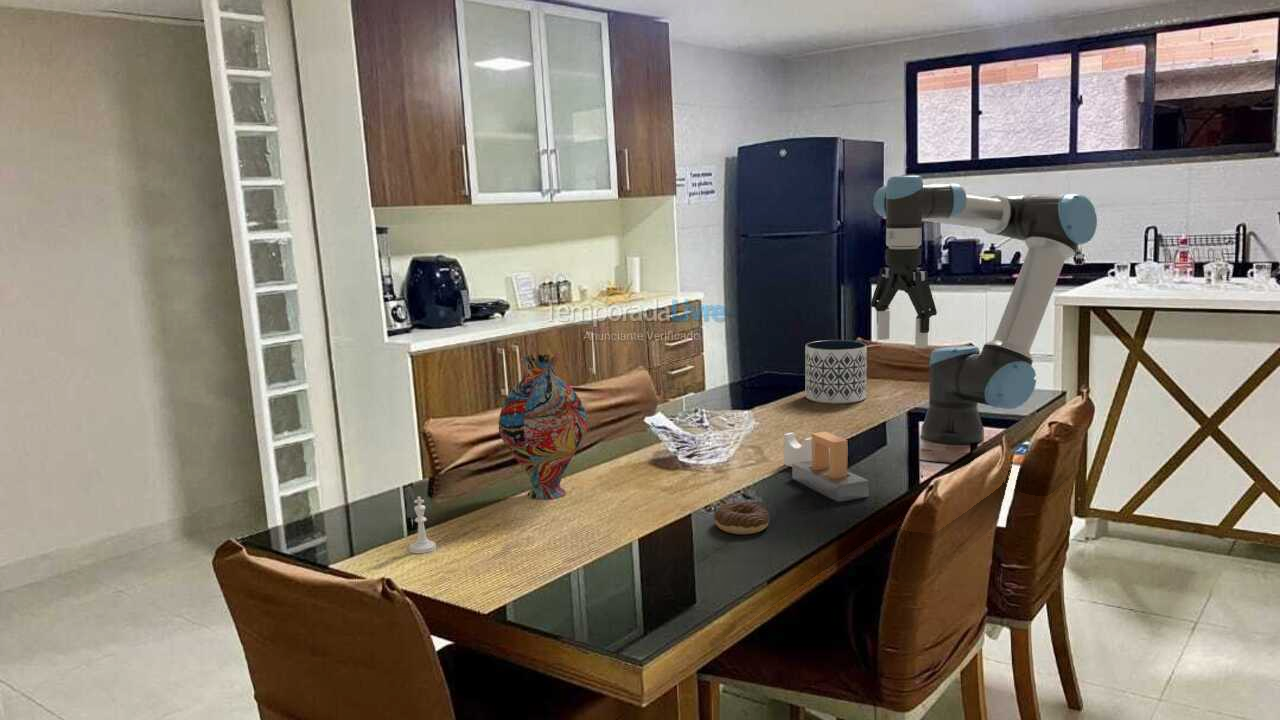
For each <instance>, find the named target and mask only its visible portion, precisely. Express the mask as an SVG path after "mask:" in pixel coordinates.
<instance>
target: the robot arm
mask: <svg viewBox="0 0 1280 720" xmlns="http://www.w3.org/2000/svg"><path fill="white" fill-rule="evenodd" d="M886 182H887V184H886V185H884V186H881V187H880V188H878V189H877V190H876V192H875V194H874V195H873V196H874V197H873V208H874V210H875V212H876V213H877V215H879V216H880V217H883V218H885V219H886V220H885V222H886V223H885V228H886V231H885V232H886V233H885V245H886V246H887V247H888V248H887V249H886V250H885V265H886V266H888V267H880V268H879V275H878V279H877V283H876V286H875V289H874V293H873V295H872V298H871V300H870V306H871V308H874V309H875V311H876V324H877V338H876V339H877V341H878V340H879V341H882V340H883V341H884V340H890V325H891V324H890V317H891V316H890V315H891V314H890V312H891V311H890V304H891V303H892V301H893V299H894V298H895V296H896V294H897V293H898V291H901V292H903V291H904V293H906V294H907V295H908V297H909V299H910V302H911V304H912V306H913V308H914V310H915V313H916V314H917V316H915V331H914V332H915V335H914V336H915V337H914V338H915V340H914V341H915V342H914V343H915V344H914V346H915V347H914V349H923V348H928V346H929V345H928V344H929V332H930V318H932V317H933V316H937V314H938V311H937V308H936V305H935V301H934V300H935V299H934V298H933V294H932V290H931V286H930V283H929V273H928V271H927V270H922V271H918V266H920V265H921V264H922V249H921V248H920V246H921V245H922V243H923V241H922V240H923V239H922V238H923V237H922V235H923V234H922V233H923V231H922V230H923V229H922V224H923V222H928V223H929V222H930V223H938V224H947V225H953V226H959V227H968V228H975V229H983V231H984V232H986V233H987V234H991V235H995V236H1000V237H1001V236H1002V237H1006V238H1009V239H1014V240H1019V241H1024V243H1025V245H1026V247H1027V248H1028V251H1027V253H1026V255H1025V257H1024V259H1023V263H1022V266H1021V269H1020V271H1019V274H1018V276H1017V278H1016V281H1015V284H1014V286H1013V288H1012V292H1011V294H1010V296H1009V298H1008V300H1007V301H1008V302H1007V304H1006V306H1005V309H1004V311H1003V313H1002V316H1001V319H1000V322H999V324H998V327H997V329H996V332H995V334H994V337H993V339H991V341H987V342H986V343H984V344H983V347H982V350H981V351H980V349H979V347H978V346H975V345H963V346H962V345H961V346H960V345H959V346H947V347H940V348H935V349H933V350H932V351H931V353H930V358H929V359H930V360H929V364H928V365H929V366H928V367H929V368H928V370H929V372H928V374H929V375H928V376H929V382H928V383H929V384H928V388H929V389H928V390H929V392H928V396H929V399H928V408H927V411H926V414H925V417H924V420H923V423H922V425H921V431H920V433H921V435H920V436H921V438H924V439H925V440H927V441H931V442H935V443H941V444H942V443H943V444H950V445H965V444H974V443H978V442H981V441H983V440H984V439H985V429H984V426H983V423H982V422H983V421H982V419H981V415H980V413H979V408H978V404H981V405H985V406H990V407H991V408H994V409H1003V410H1004V409H1005V410H1013V409H1016V408H1018V407H1021V406H1023V405H1024V404H1025V403H1026V402H1027V401H1028V400H1029V399H1030V398H1031V396H1032V395H1033V393H1034V390H1035V388H1036V384H1037V379H1036V378H1035V377H1037V376H1036V375H1037V373H1036V371H1035V369H1034V366H1032V365H1033V363H1034V362H1033V361H1034V359H1033V357H1032V355H1031V353H1030V352H1031V349H1032V347H1033V343H1034V341H1035V338H1036V335H1037V333H1038V331H1039V328H1040V326H1041V324H1042V323H1041V322H1042V320H1043V318H1044V316H1045V313H1046V311H1047V308H1048V305H1049V303H1050V300H1051V298H1052V294H1053V293H1054V290H1055V287H1056V284H1057V282H1058V278H1059V277H1060V274H1061V271H1062V269H1063V266H1064V264H1065V261H1067V260H1069V259H1070V258H1073V257H1074V256H1075V255H1076V252H1077V249H1078V246H1080V245H1081V246H1082V245H1084V244H1086V243H1089V241H1091V240H1092V239H1093V238H1094V235H1095V234H1096V231H1097V226H1098V220H1097V219H1098V218H1097V213H1096V209H1095V206H1094V205H1093V202H1092V201H1091V200H1090V199H1089V198H1088V197H1086V196H1085V195H1082V194H1079V193H1078V194H1075V193H1073V194H1072V193H1069V192H1065V193H1059V194H1054V193H1053V194H1052V193H1051V194H1050V193H1048V194H1047V193H1046V194H1042V193H1041V194H1035V193H1034V194H1023V195H1020V194H1019V195H1005V196H1004V195H1000V194H999V195H997V194H996V195H995V194H994V195H992V196H990V197H984V196H977V195H976V196H975V195H972V194H967V193H966V191H965V188H963V187H962V186H961V185H960V184H958V183H950V182H948V183H947V182H945V183H927V184H925V183H924V181H923V177H922V176H921V175H902V176H901V175H899V176H898V175H895V176H894V175H893V176H891V177H889V178H888V179H887V181H886Z"/></svg>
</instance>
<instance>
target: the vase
mask: <svg viewBox="0 0 1280 720" xmlns="http://www.w3.org/2000/svg"><path fill="white" fill-rule="evenodd" d="M559 358H560V356H559V355H556V354H549V353H548V354H547V353H546V354H544V353H542V354H529V355H525V356H523V357H521V358H520V361H521V362H522V363H523V364H524V367H525V374H524V376H523V378H522V379H521V380H520V381H519V382H518V383H517V385H515V387H513V388H512V389H511V391H509V394H508V395H507V397H506V399H505V401H504V402H503V405H502V407H501V410H500V413H499V418H498V432H499V436H500V438H501V440H502V441H503V443H504V444H505V446H506V447H507V448H508V450H509V451H510V452H511V454H512V455H513V457H514V458H515V459H516V460H517V462H518V463H519V465H520V466H521V468H522V469H523V471H524V472H525V473H526V475H527V477H528V478H529V481H530V483H531V486H532V488H531V490H529V491H528V492H527V494H526V496H527V497H528V498H530V499H533V500H540V501H543V500H544V501H546V500H554V499H559V498H561V497H564V496H565V495H567V491H566V490H565V489H564V488H562V487H561V482H562V479H563V478H562V477H563V476H564V474H565V471H566V469H567V467H568V466H569V464H570V462H571V460H572V459H573V457H574V455H575V453H576V451H577V450H578V448H579V446H580V444H581V443H582V442H583V440H584V437H585V435H586V433H587V430H588V417H587V413H586V409H585V407H584V404H583V403H582V400H581V399H580V397H579V396H578V394H577V393H576V392H575V390H574V389H573V388H572V387H571V386H570V385H568V383H566V381H564V380H563V379H562V378H560V377H559V376H558V374H557V372H556V371H555V369H556V367H555V365H556V363H557V361H558V360H559Z"/></svg>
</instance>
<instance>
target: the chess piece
mask: <svg viewBox="0 0 1280 720" xmlns="http://www.w3.org/2000/svg"><path fill="white" fill-rule="evenodd" d="M423 503H425V499H422V498H421V496H417V499H415V500H414V504H417V505H416V506H414V508H413V509H414V511H415V514H416V518H415V519H414V522H415V523H417V539H415V541H414V542H412V543H411V544H410V545H409V552H410V553H413V554H426V553H427V554H428V553H430V552H432V551H434V550H436V549H437V545H436V542H435V541H434V540H429V538H428V537H427V533H426V529H425V524H424V522H426V521H427V520H428V519H427V517H425V516H424V515H425V510H426V505H423Z"/></svg>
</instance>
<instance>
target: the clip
mask: <svg viewBox="0 0 1280 720" xmlns="http://www.w3.org/2000/svg"><path fill="white" fill-rule="evenodd" d="M811 437H812V470H814V471H815V470H821V469H827V468H829V478H831V479H837V478H843V477H847V471H848V442H849V441H848V440H847V439H845V438H842V437H840V436H839V435H835V434H833V433H830V432H827V431H818V432H813V433H811ZM829 448H830V449H829Z"/></svg>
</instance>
